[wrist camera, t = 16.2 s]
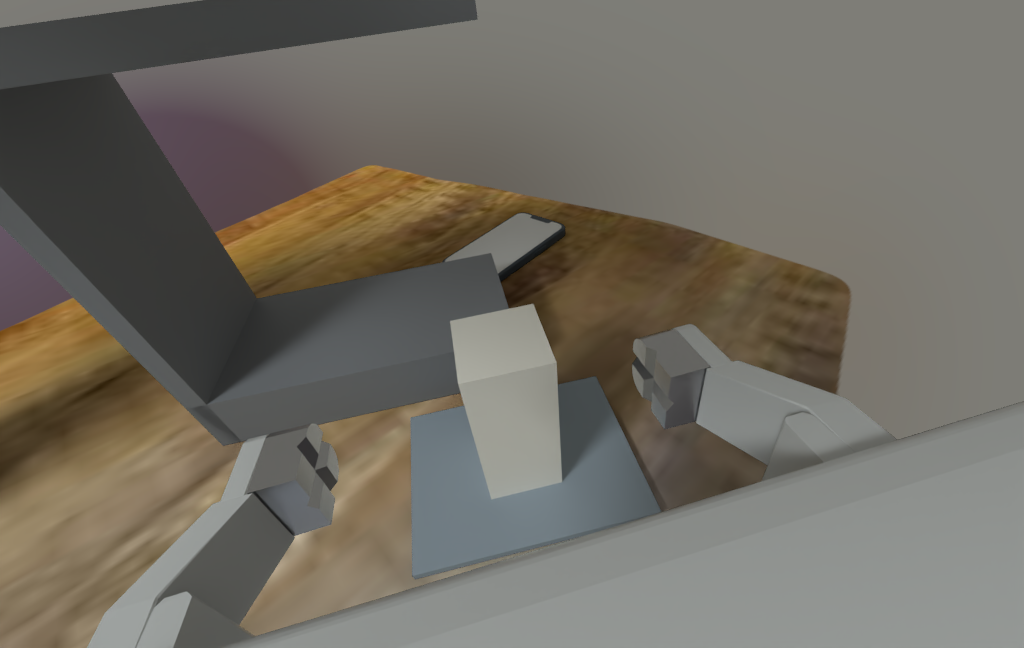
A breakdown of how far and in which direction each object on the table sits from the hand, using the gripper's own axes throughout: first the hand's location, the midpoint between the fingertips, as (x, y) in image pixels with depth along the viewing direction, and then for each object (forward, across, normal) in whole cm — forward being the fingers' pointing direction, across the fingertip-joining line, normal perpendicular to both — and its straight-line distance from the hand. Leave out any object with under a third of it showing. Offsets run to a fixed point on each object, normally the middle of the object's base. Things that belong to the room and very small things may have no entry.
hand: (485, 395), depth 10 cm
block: (+11, -1, +18) cm, 21 cm away
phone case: (+41, -7, +17) cm, 45 cm away
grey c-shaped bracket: (+26, +9, +17) cm, 33 cm away
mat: (+11, -1, +19) cm, 22 cm away
